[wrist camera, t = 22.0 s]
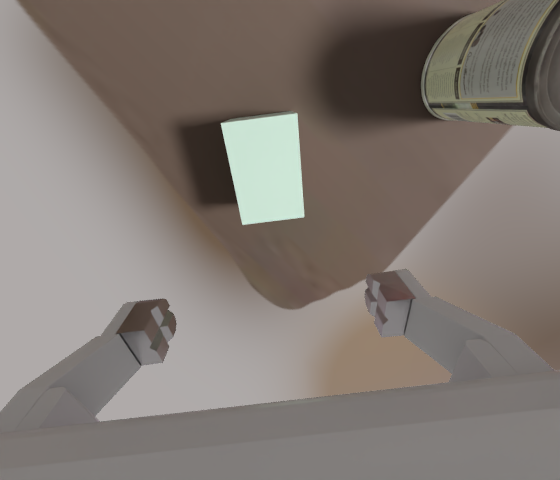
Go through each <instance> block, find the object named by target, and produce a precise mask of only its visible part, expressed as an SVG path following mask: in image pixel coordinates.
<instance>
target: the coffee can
mask: <svg viewBox="0 0 560 480" xmlns="http://www.w3.org/2000/svg"><path fill="white" fill-rule="evenodd" d="M421 93H422V98H423V102H424V104H425V106H426V108H427V109H428V111H429V112H430V113H431V114H432V115H434V116H435V117H437V118H440V119H443V120H459V121H469V122H483V123H496V124H507V125H520V126H532V127H544V128H550V129H553V130H557V131H560V0H503V1H501V2H498V3H496V4H494V5H492V6H490V7H487V8H485V9H483V10H481V11H478V12H476V13H472V14H470V15H467V16H465V17H463V18H461V19H460V20H458V21H457V22H455V23H454V24H453V25H451V26H450V27H449V28H448V29H447V30H446V31H445V32H444V33H443V34H442V35H441V36H440V38H439V39H438V40H437V41H436V43H435V44H434V46H433V48H432V50H431V51H430V53H429V55H428V57H427V59H426V62H425V65H424V68H423V72H422V78H421Z"/></svg>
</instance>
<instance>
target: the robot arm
mask: <svg viewBox="0 0 560 480" xmlns="http://www.w3.org/2000/svg"><path fill="white" fill-rule="evenodd" d="M366 283H367V285H368V288H367V289H366V290H365V302H366V306H367V309H368V311H369V313H370V314H371V315H372V316H374V317H375V321H374V323H375V325H376V327H377V329H378V331H379V333H380V335H381V337H390V336H401V335H404V336H405V337H406V338H407V339H408V340H410V341H411V342H412V343H414V344H415V345H416V346H417V347H419V348H420V349H421V350H423V351H424V352H425V353H426V354H428V355H429V356H430V357H431V358H433V359H434V360H435V361H437V362H438V363H439V364H440V365H442V366H443V367H444V368H445V369H447V370H448V371H449V372H451V373H452V376H451V378H450V381H449V382H448V383H440V384H431V385H422V386H413V387H404V388H395V389H387V390H377V391H369V392H360V393H351V394H342V395H334V396H325V397H316V398H307V399H298V400H289V401H280V402H271V403H263V404H254V405H245V406H236V407H227V408H218V409H210V410H201V411H192V412H183V413H175V414H165V415H156V416H147V417H139V418H129V419H120V420H111V421H103V422H100V421H99V420H98V419H97V418H96V417H95V416H96V415H97V413H99V411H100V410H101V409H102V408H103V407H104V406H105V405H106V404H107V403H108V402H109V401H110V400H111V399H112V397H113V396H114V395H115V394H116V393H117V392H118V391H119V390H120V389H121V388H122V387H123V385H125V383H126V382H127V381H128V380H129V379H130V378H131V377H132V376H133V375H134V374H135V373H136V372H137V371H138V370H139V368H140V367H141V366H142V365H149V364H156V363H163V361H164V359H165V356H166V354H167V351H168V349H169V345H168V341H169V340H170V339H172V338H173V336H174V333H175V331H176V318H175V316H174V314H173V313H172V312H170V311H169V310H168V308H169V306H170V305H169V304H168V302H167V300H166V299H154V300H144V301H137V302H127V303H125V304H123V306H122V307H121V308H120V310H119V311H118V313H117V314H116V315H115V317H114V318H113V319H112V321H111V322H110V324H109V325H108V326H107V328H106V329H105V331H104V332H103V333H102V335H101V336H98V337H95V338H94V339H92V340H91V341H89V342H88V343H86V344H85V345H84V346H82V347H81V348H79V349H78V350H76V351H75V352H74V353H72V354H71V355H69V356H68V357H66V358H65V359H63V360H62V361H61V362H59V363H58V364H56V365H55V366H53V367H52V368H51V369H49V370H48V371H46V372H45V373H43V374H42V375H40V376H39V377H38V378H36V379H35V380H33V381H32V382H30V383H29V384H27V385H26V386H25V387H23V388H22V389H20V390H19V391H18V392H17V393H16V395H15V396H14V397H13V398H12V399H11V400H10V402H8V404H7V405H6V406H5V407H4V408H3V409H2V411H1V412H0V480H560V370H554V369H552V368H551V367H550V366H549V365H548V364H547V363H546V362H545V361H544V360H543V359H542V358H541V357H540V356H538V355H537V354H536V353H535V352H534V351H533V350H532V349H531V348H530V347H529V346H528V345H527V344H525V343H524V342H523V341H522V340H521V339H520V338H519V337H518V336H517V335H516V334H514V333H512V332H510V331H508V330H506V329H504V328H502V327H499V326H497V325H495V324H493V323H491V322H489V321H487V320H484V319H482V318H480V317H478V316H476V315H474V314H472V313H470V312H467V311H465V310H463V309H461V308H459V307H457V306H455V305H452V304H450V303H448V302H446V301H444V300H442V299H440V298H438V297H431V296H430V295H429V293H428V292H427V291H426V290H425V289H424V288H423V286H422V285H421V284H420V283H419V282H418V281H417V280H416V278H415V277H414V276H413V275H412V274H411V273H410V271H408V270H407V269H402V270H395V271H390V272H382V273H374V274H368V275H367V277H366Z"/></svg>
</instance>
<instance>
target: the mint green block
mask: <svg viewBox="0 0 560 480" xmlns="http://www.w3.org/2000/svg"><path fill="white" fill-rule="evenodd" d="M221 127H222V132H223V136H224V141H225V146H226V150H227V155H228V160H229V164H230V169H231V174H232V178H233V183H234V188H235V192H236V197H237V202H238V206H239V211H240V216H241V220H242V225H245V224H253V223H261V222H269V221H277V220H285V219H294V218H302V217H304V205H303V191H302V176H301V161H300V146H299V132H298V117H297V113H295V112H292V111H288V112H281V113H273V114H265V115H257V116H250V117H242V118H234V119H229V120H227V121H225V122H222V123H221Z"/></svg>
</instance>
